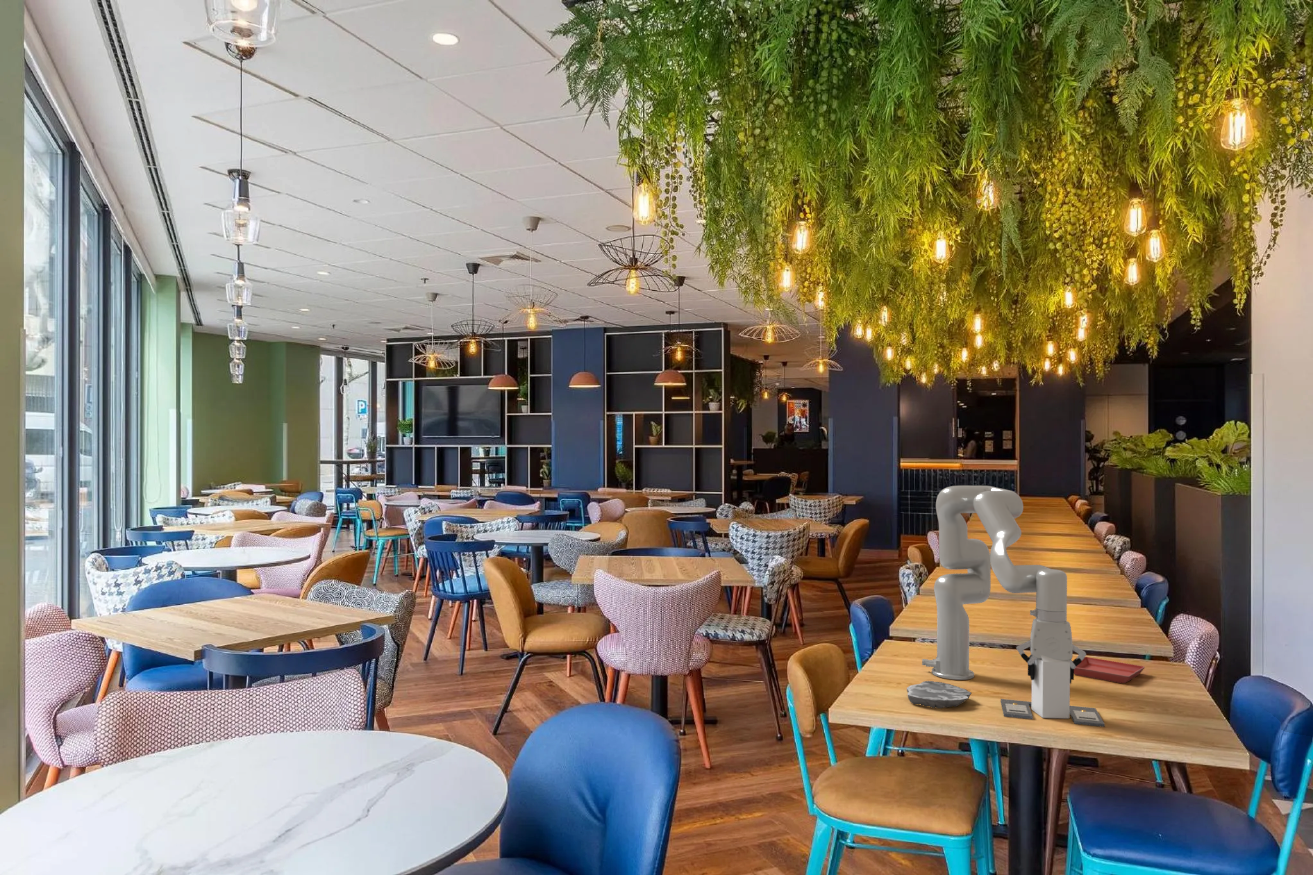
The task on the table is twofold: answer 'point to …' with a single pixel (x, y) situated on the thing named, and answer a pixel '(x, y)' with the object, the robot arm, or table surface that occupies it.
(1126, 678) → the plant saucer
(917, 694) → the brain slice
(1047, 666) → the milk carton
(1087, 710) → the label panel
